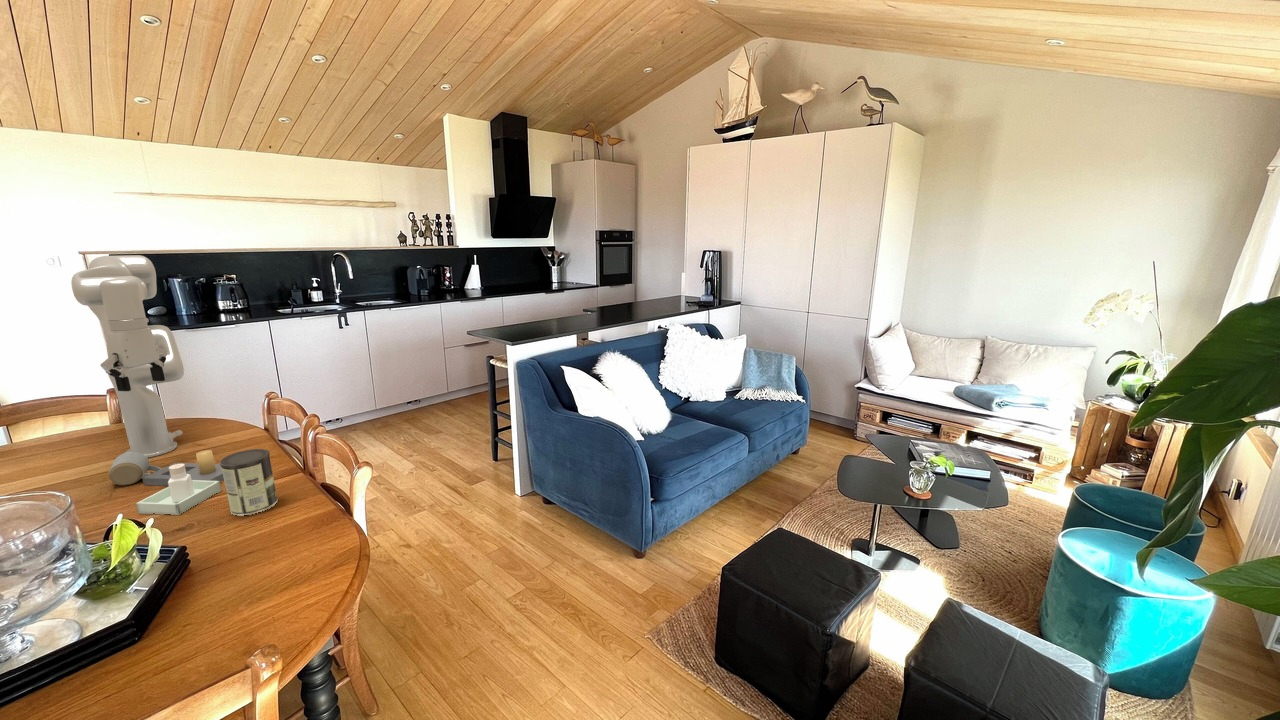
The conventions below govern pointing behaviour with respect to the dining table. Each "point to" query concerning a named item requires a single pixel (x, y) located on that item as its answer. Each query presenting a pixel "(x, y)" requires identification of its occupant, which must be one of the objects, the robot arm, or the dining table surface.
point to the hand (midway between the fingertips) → (142, 385)
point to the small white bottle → (180, 483)
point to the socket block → (190, 471)
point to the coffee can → (249, 481)
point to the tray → (165, 505)
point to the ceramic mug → (130, 468)
